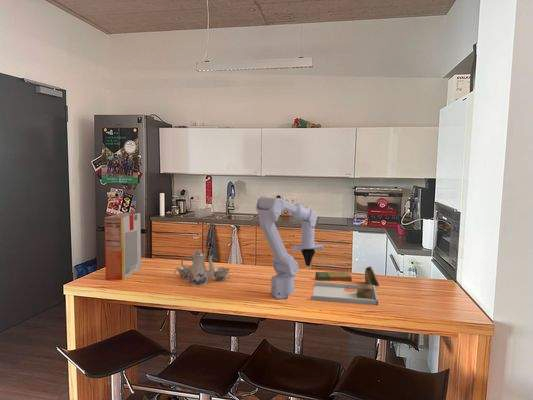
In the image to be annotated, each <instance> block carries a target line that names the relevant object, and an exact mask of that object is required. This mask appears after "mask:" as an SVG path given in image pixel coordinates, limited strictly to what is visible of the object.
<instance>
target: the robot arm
mask: <svg viewBox="0 0 533 400" xmlns="http://www.w3.org/2000/svg"><path fill="white" fill-rule="evenodd" d="M255 210H256V212H257V214H258V219H259V220H258V221H259V225H260V228H261V231H262V232H263V235H264V237H265V239H266V241H267V243H268V245H269V247H270V250H271V253H272V254H273V257H272V260H271V261H272V264H273V265H272V266H273V270H274V272H275V274H276V275H272V276H271V281H270V283H271V284H270V294H271V295H272V296H273V297H274V298H275V299H276V300H280V299H288V297H289V296H290V295H293V294H294V293H295V276H296V275H297V273H298V272H299V263H298V262H297V261H296V260H295V258H294V257H293V256H292V255H291V254H290V253H288V251H287V248H286V246H285V244H284V242H283V240H282V237H281V235H280V233H279V230H278V228H277V226H276V224H275V223H276V222H278V219H279V218H280V215H281V214H282V212H283V211H285V212H289V214H290V216H292V217H293V218H296V219H299V221H300V222H301V244H298V245H292V246H291V251H292V252H296V251H300V252H301V254H302V256H303V258H304V262H305V263H304V264H305V266H306V267H310V266H311V262H312V259H313V257H314V255H315V254H316V250H324V247H325V245H324V244H323V243H315V228H316V227H315V226H317V225H316V224H317V220H318V213H317V212H316V211H315V210H314V209H309V208H308V207H307V206H304V205H303V204H301V203H299V202H298V203H295V204H292V203H290V202H289V201H287V200H285V199H283V198H279V197H265V196H261V197H258V199H257V202H256V205H255Z"/></svg>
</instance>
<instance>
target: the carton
mask: <svg viewBox="0 0 533 400" xmlns="http://www.w3.org/2000/svg"><path fill="white" fill-rule="evenodd" d="M314 278H315V280H316V281H317V282H320V281H321V282H322V281H323V282H326V281H327V282H332V281H333V282H334V281H335V282H339V281H340V282H350V283H351V282H352V281H353V279H352V278H353V277H352V275H351V274H350V272H348V271H315V277H314Z"/></svg>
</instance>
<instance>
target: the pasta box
mask: <svg viewBox="0 0 533 400" xmlns="http://www.w3.org/2000/svg"><path fill="white" fill-rule="evenodd" d="M141 225H142V224H141V212H128V211H127V212H122V213H118V214H114V215H110V216H105V217H104V252H105V254H104V255H105V256H104V257H105V259H104V260H105V262H104V263H105V280H106V281H107V280H108V281H109V280H111V281H112V280H113V281H115V280H116V281H123V280H125V279H126V278H128V277H129V276H131V275H132V274H134V273H135V272H137V271H138V270H141V268H142V244H141V243H142V242H141V241H142V239H141V238H142V236H141V234H142V233H141V231H142V230H141Z"/></svg>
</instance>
